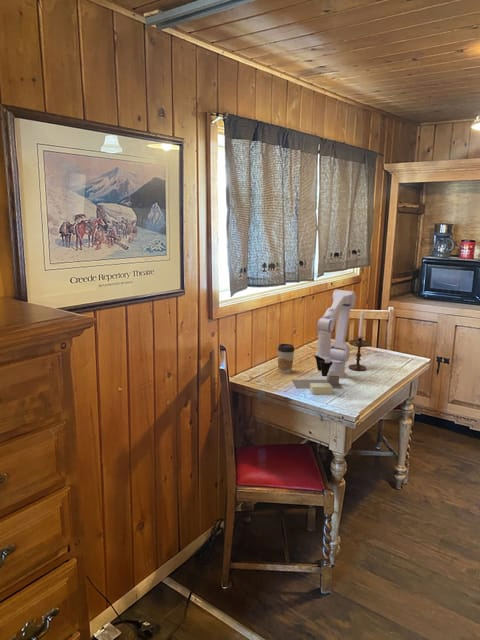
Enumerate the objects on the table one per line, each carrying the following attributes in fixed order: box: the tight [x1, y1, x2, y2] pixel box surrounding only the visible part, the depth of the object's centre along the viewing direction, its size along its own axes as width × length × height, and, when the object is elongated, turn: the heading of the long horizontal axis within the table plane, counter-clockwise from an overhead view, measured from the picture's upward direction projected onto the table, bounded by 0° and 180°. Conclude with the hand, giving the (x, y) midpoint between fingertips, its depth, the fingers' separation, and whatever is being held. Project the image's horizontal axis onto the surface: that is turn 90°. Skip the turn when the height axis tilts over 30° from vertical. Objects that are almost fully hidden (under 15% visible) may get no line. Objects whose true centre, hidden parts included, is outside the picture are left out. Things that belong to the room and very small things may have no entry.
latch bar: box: [328, 371, 345, 377], centre depth 228 cm, size 2×7×2 cm, turn 95°
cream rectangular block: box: [309, 383, 333, 395], centre depth 218 cm, size 5×9×4 cm, turn 97°
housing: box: [291, 374, 344, 390], centre depth 228 cm, size 12×22×6 cm, turn 95°
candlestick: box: [348, 304, 371, 372], centre depth 255 cm, size 11×11×35 cm
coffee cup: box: [277, 343, 295, 375], centre depth 244 cm, size 8×8×15 cm
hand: (322, 373), depth 222 cm, fingers open, 7 cm apart
